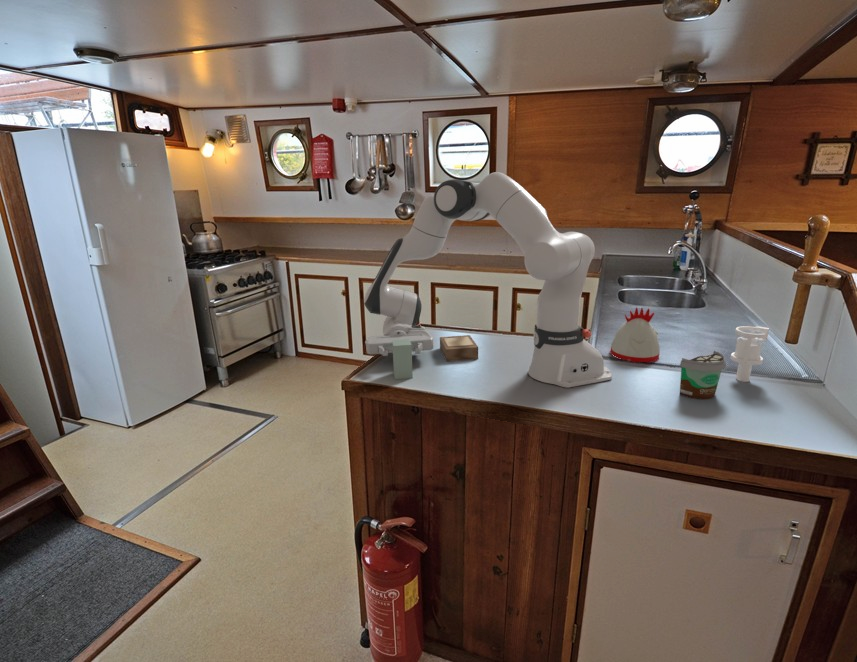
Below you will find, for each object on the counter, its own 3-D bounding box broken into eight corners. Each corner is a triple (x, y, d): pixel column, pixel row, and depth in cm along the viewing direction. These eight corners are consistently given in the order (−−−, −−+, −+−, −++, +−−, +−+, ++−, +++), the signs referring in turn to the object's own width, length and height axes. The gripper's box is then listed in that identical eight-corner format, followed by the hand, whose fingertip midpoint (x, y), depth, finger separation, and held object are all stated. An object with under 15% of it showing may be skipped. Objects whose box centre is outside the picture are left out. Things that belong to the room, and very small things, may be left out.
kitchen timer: (664, 364, 140) (670, 314, 135) (614, 361, 142) (619, 313, 138) (652, 348, 153) (658, 302, 148) (607, 346, 155) (611, 301, 151)
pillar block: (410, 371, 139) (409, 339, 136) (412, 378, 135) (411, 344, 132) (393, 372, 139) (392, 340, 136) (395, 379, 134) (393, 345, 131)
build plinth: (469, 346, 158) (469, 334, 157) (478, 359, 147) (478, 346, 146) (439, 348, 157) (439, 336, 156) (446, 361, 146) (446, 348, 145)
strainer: (757, 387, 123) (768, 331, 118) (725, 380, 127) (735, 327, 123) (759, 378, 128) (770, 324, 124) (729, 372, 132) (738, 320, 128)
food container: (697, 405, 114) (703, 366, 111) (675, 395, 120) (680, 358, 117) (732, 395, 119) (739, 358, 116) (709, 386, 124) (715, 350, 121)
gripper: (364, 330, 148) (364, 344, 135) (429, 325, 151) (435, 339, 138) (365, 349, 150) (366, 365, 137) (429, 344, 153) (436, 359, 140)
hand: (401, 352), depth 138 cm, fingers open, 8 cm apart
